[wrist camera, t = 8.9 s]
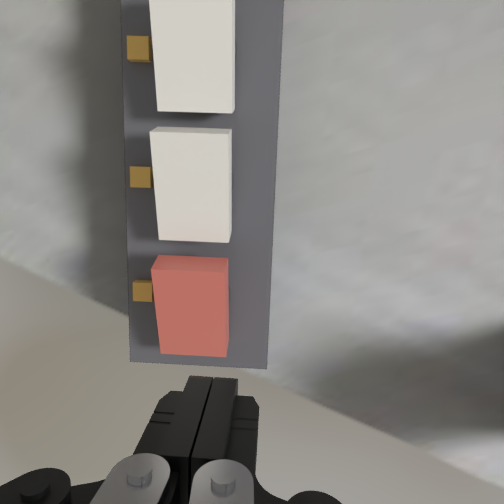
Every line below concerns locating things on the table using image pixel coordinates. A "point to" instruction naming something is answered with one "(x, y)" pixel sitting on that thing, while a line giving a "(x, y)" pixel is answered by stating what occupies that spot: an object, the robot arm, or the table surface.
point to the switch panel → (243, 182)
